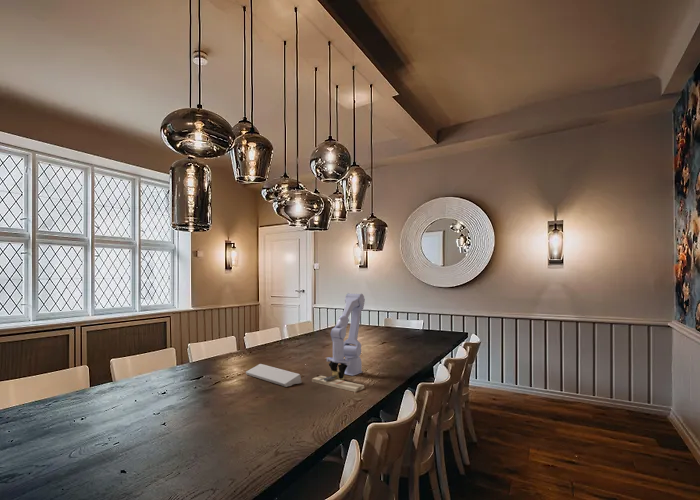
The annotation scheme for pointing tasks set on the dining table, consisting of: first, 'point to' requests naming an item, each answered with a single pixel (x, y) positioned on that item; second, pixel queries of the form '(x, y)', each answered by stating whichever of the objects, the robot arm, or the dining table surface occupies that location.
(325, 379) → the marking gauge
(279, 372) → the decorative molding
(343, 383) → the maple board
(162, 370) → the dining table surface
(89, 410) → the dining table surface
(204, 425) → the dining table surface
